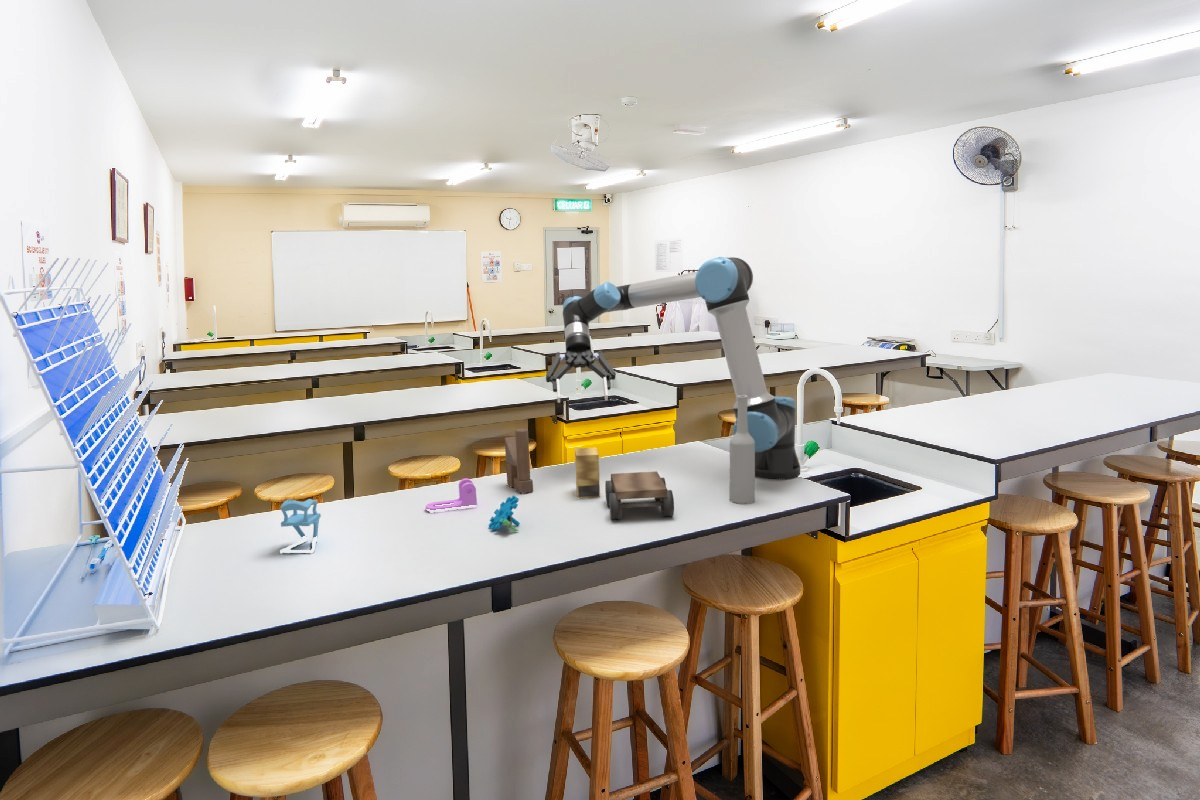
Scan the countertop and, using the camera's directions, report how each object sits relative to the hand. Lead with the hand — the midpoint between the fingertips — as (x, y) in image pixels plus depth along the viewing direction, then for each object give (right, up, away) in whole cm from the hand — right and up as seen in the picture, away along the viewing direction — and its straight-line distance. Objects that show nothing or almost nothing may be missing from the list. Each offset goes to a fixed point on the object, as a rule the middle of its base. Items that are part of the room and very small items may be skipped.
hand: (582, 399), depth 209 cm
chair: (-64, -35, -39) cm, 82 cm away
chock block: (+2, -26, -5) cm, 27 cm away
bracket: (-35, -29, -14) cm, 47 cm away
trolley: (+15, -28, -20) cm, 38 cm away
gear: (-18, -32, -30) cm, 48 cm away
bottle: (+42, -27, -15) cm, 52 cm away
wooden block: (-18, -26, +1) cm, 32 cm away
